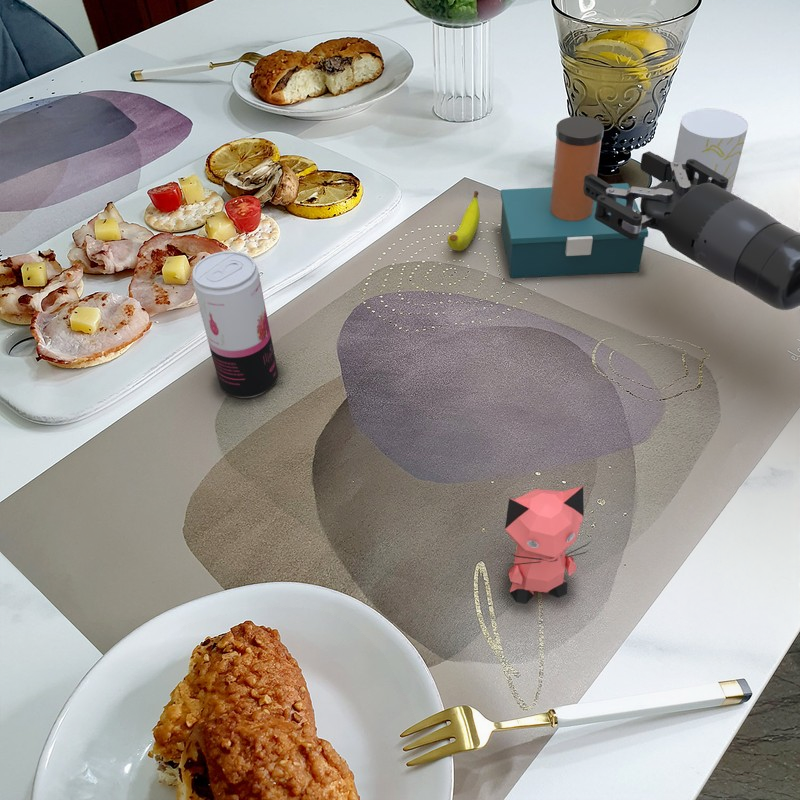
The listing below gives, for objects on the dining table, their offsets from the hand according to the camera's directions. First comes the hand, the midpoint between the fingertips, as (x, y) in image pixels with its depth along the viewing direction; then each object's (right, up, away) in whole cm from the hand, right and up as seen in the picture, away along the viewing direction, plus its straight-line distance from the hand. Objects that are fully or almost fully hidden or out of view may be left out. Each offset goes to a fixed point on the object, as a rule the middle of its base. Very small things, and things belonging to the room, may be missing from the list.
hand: (615, 170), depth 97 cm
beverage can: (-41, -24, -2) cm, 48 cm away
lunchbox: (-3, -7, +13) cm, 15 cm away
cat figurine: (-12, -42, -22) cm, 49 cm away
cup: (+16, 0, +20) cm, 25 cm away
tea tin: (-3, -2, +9) cm, 10 cm away
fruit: (-16, -5, +16) cm, 23 cm away
